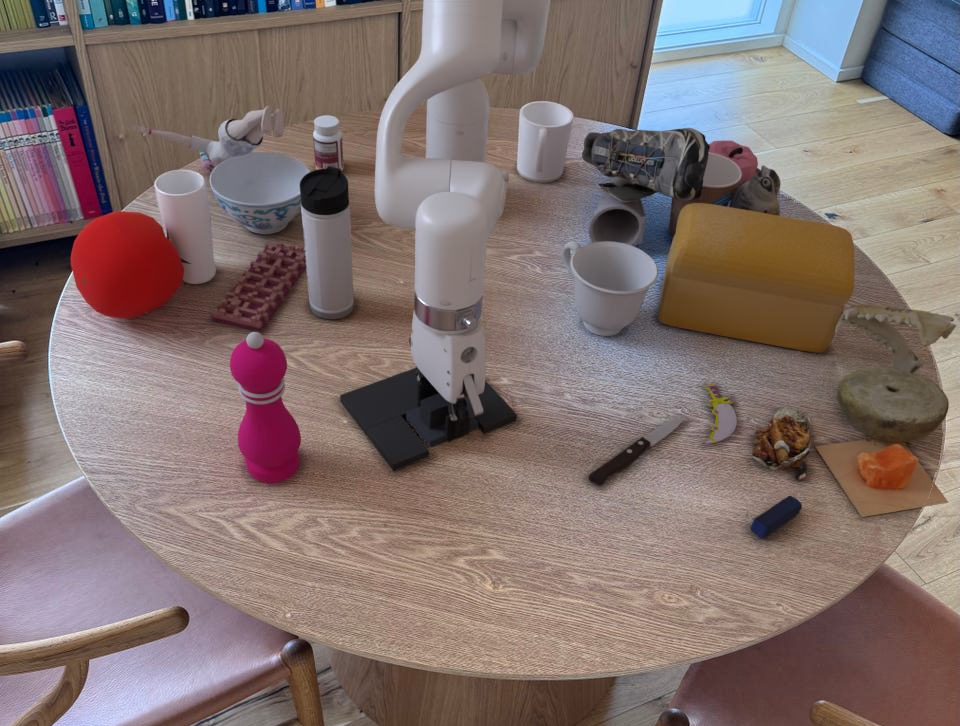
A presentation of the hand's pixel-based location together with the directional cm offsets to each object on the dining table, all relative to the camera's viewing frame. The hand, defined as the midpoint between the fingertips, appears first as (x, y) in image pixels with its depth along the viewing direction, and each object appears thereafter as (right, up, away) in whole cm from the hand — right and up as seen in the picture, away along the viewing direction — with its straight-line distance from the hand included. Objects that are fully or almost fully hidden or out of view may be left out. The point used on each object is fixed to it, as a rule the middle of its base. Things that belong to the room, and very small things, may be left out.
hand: (442, 419), depth 117 cm
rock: (+53, -9, +2) cm, 54 cm away
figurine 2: (+44, +30, +29) cm, 61 cm away
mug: (+15, +45, +45) cm, 66 cm away
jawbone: (+61, +15, +12) cm, 64 cm away
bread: (+43, +17, +21) cm, 51 cm away
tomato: (-48, +19, +6) cm, 52 cm away
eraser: (+43, -10, -6) cm, 44 cm away
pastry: (+44, -5, +4) cm, 45 cm away
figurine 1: (-24, +43, +13) cm, 51 cm away
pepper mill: (-20, -6, -5) cm, 22 cm away
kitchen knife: (+26, -4, 0) cm, 26 cm away
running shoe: (+34, +40, +26) cm, 59 cm away
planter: (+26, +38, +39) cm, 60 cm away
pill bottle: (-21, +45, +42) cm, 65 cm away
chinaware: (-29, +33, +29) cm, 53 cm away
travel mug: (-16, +17, +17) cm, 29 cm away
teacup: (+21, +16, +18) cm, 32 cm away
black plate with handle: (0, -1, 0) cm, 1 cm away
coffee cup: (+39, +32, +34) cm, 61 cm away
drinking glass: (-37, +22, +19) cm, 47 cm away
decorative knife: (+39, +1, +6) cm, 39 cm away
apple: (+46, +41, +44) cm, 75 cm away
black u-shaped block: (-2, +1, +3) cm, 4 cm away
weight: (+58, +4, +4) cm, 59 cm away
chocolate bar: (-26, +20, +18) cm, 38 cm away
